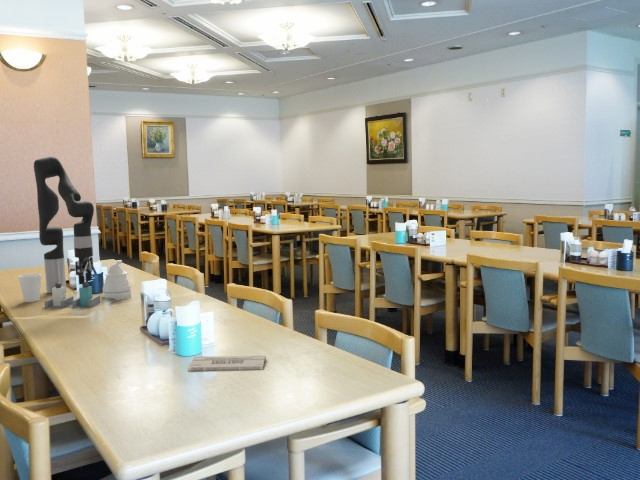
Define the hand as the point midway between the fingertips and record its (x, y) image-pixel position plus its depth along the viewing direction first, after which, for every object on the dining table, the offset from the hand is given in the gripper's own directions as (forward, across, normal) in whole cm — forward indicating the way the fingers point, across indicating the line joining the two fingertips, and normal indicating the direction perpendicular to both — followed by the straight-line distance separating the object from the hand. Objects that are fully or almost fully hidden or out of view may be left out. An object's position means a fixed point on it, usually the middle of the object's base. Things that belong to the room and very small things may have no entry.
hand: (85, 282), depth 257 cm
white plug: (+10, 0, -12) cm, 16 cm away
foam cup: (+12, -12, -30) cm, 34 cm away
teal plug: (+10, 0, 0) cm, 10 cm away
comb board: (+11, 0, -6) cm, 13 cm away
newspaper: (+11, +86, +75) cm, 114 cm away
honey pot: (+12, -20, +7) cm, 24 cm away
